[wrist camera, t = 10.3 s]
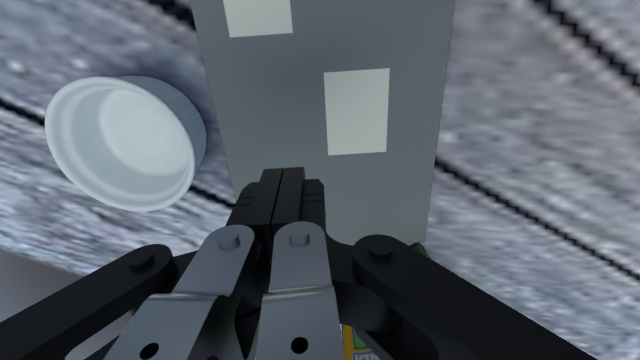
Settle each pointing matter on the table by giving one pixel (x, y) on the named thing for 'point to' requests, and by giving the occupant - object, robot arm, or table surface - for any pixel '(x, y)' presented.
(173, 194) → the ramekin
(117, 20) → the table surface
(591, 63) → the table surface
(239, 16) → the label placard
